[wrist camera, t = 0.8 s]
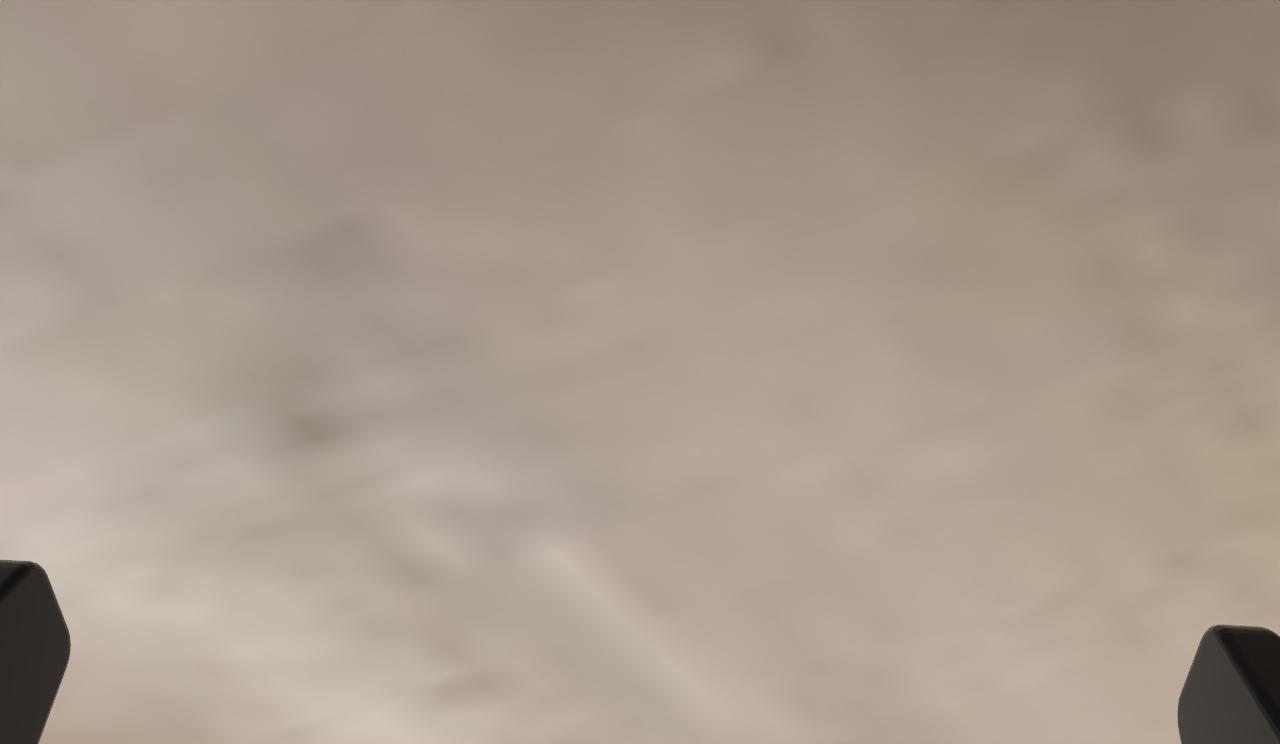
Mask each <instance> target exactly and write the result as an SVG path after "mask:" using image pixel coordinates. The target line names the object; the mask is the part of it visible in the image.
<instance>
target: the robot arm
mask: <svg viewBox="0 0 1280 744" xmlns="http://www.w3.org/2000/svg"><path fill="white" fill-rule="evenodd" d="M70 645H71V643H70V635H69V631H68V628H67V625H66V622H65V620H64V617H63V615H62V612H61V609H60V607H59V604H58V602H57V599H56V596H55V594H54V591H53V589H52V586H51V583H50V581H49V578H48V576H47V574H46V572H45V570H44V569H43V568H42V567H41V566H39V565H38V564H37V563H33V562H30V561H12V560H0V744H38V743H39V741H40V738H41V735H42V733H43V730H44V727H45V724H46V722H47V719H48V716H49V714H50V711H51V708H52V705H53V703H54V700H55V697H56V695H57V692H58V689H59V686H60V684H61V681H62V678H63V676H64V673H65V670H66V667H67V664H68V661H69V656H70ZM1178 727H1179V733H1180V739H1181V744H1280V636H1278V635H1277V634H1275V633H1274V632H1272V631H1270V630H1269V629H1266V628H1262V627H1251V626H1233V625H1216V626H1212V627H1211V628H1209V629H1208V630H1207V631H1206V632H1205V633H1204V635H1203V637H1202V639H1201V642H1200V644H1199V647H1198V650H1197V652H1196V655H1195V657H1194V660H1193V663H1192V665H1191V668H1190V671H1189V673H1188V676H1187V679H1186V681H1185V684H1184V687H1183V689H1182V692H1181V695H1180V698H1179V704H1178Z"/></svg>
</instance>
